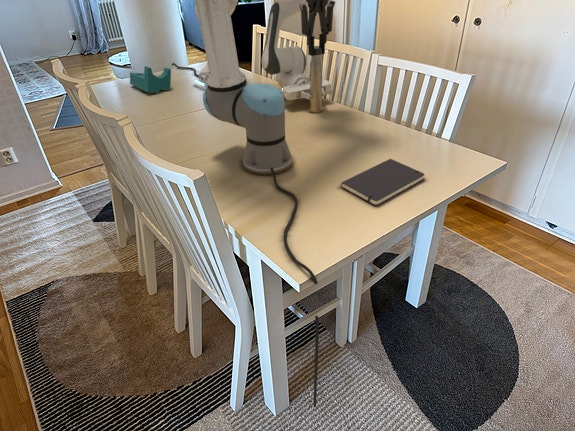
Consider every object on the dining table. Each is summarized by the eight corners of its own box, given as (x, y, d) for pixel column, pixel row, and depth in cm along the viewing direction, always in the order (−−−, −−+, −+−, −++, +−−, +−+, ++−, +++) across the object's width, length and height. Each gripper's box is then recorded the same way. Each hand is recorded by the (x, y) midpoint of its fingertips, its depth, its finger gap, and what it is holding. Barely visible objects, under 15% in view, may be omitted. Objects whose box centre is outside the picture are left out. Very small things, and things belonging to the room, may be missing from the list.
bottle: (307, 110, 161) (307, 49, 148) (315, 107, 164) (316, 47, 150) (315, 113, 158) (316, 51, 145) (323, 110, 161) (325, 49, 147)
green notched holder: (170, 93, 186) (171, 69, 181) (147, 92, 179) (148, 67, 174) (151, 84, 197) (152, 61, 192) (130, 83, 190) (130, 60, 185)
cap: (317, 51, 151) (318, 45, 149) (324, 54, 148) (324, 47, 146) (309, 53, 149) (309, 47, 148) (315, 55, 146) (315, 49, 145)
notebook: (389, 163, 124) (340, 187, 113) (390, 158, 123) (341, 182, 112) (424, 178, 116) (375, 206, 105) (425, 174, 115) (376, 201, 104)
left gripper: (277, 82, 161) (293, 92, 151) (320, 74, 169) (339, 83, 159) (277, 97, 165) (293, 108, 155) (320, 89, 172) (338, 98, 162)
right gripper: (302, -16, 129) (302, 60, 142) (345, -21, 135) (341, 52, 149) (290, -18, 134) (291, 55, 148) (332, -22, 141) (329, 48, 154)
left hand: (317, 95), depth 157 cm, fingers closed on bottle, 5 cm apart
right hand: (316, 54), depth 148 cm, fingers closed on cap, 4 cm apart
